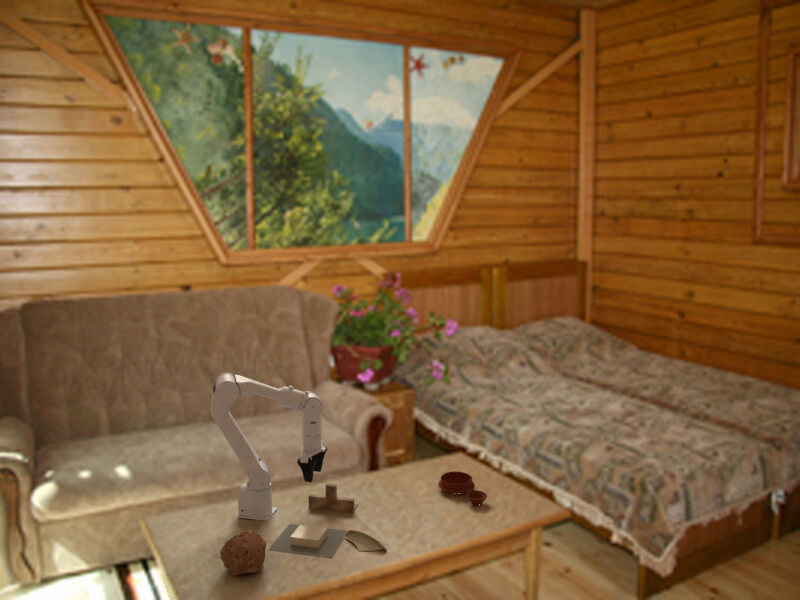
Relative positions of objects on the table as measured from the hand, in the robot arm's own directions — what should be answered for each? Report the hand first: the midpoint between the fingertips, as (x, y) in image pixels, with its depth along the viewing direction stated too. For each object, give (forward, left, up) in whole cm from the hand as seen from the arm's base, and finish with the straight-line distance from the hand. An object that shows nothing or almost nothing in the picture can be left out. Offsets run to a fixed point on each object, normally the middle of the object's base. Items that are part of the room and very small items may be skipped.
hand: (313, 476), depth 216 cm
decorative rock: (-5, -37, -10) cm, 39 cm away
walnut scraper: (+6, +2, -10) cm, 12 cm away
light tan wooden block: (+6, -16, -8) cm, 19 cm away
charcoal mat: (+6, -20, -10) cm, 23 cm away
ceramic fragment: (+21, -18, -11) cm, 30 cm away
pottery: (+43, +18, -10) cm, 48 cm away
